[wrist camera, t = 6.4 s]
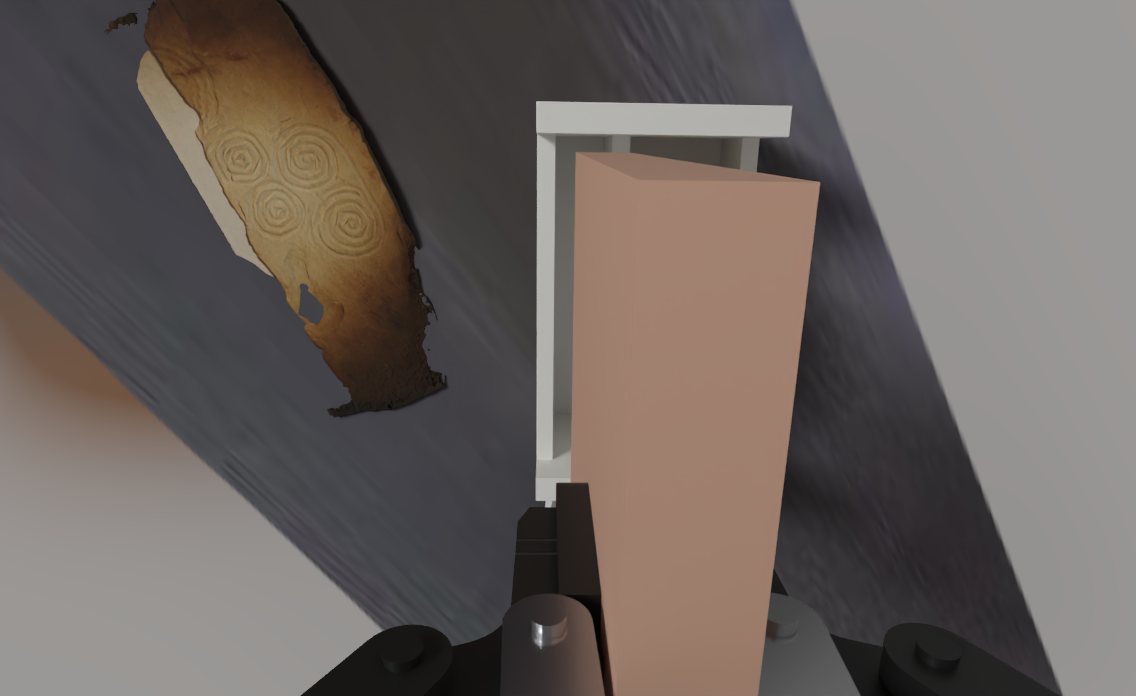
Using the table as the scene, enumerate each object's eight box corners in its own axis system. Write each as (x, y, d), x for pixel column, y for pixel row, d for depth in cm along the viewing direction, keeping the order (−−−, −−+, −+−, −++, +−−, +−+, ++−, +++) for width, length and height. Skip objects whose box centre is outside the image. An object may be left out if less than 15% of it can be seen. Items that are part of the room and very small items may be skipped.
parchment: (99, 17, 34) (87, 14, 33) (267, -70, 33) (259, -75, 32) (338, 426, 41) (334, 432, 40) (483, 367, 40) (482, 372, 39)
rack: (539, 112, 36) (536, 101, 27) (733, 116, 36) (792, 106, 27) (538, 426, 41) (535, 500, 32) (708, 426, 41) (750, 500, 32)
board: (575, 152, 19) (639, 180, 6) (631, 152, 19) (820, 181, 6) (569, 569, 23) (597, 1145, 10) (614, 569, 23) (704, 1142, 10)
